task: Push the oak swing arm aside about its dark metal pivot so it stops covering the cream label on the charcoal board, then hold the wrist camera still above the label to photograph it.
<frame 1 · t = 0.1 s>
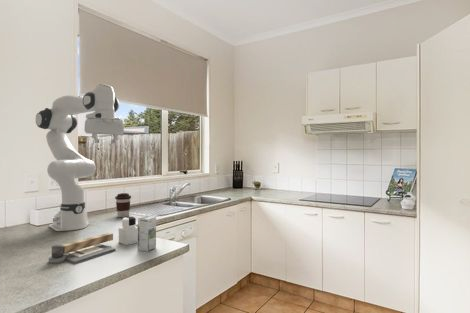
hand: (105, 143, 150), 48 cm above the counter, tool pointing down, fingers open, 8 cm apart
swing arm: (84, 243, 127), point 4 cm above the counter, hinge at 0.0°
label board: (85, 253, 126), on the counter
coffee cup: (123, 216, 197), on the counter
medicine bottle: (129, 242, 142), on the counter
syrup box: (147, 249, 132), on the counter
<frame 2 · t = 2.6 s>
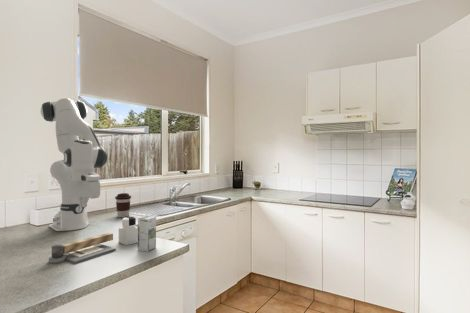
hand: (83, 206, 132), 19 cm above the counter, tool pointing down, fingers closed
nothing on the counter moved.
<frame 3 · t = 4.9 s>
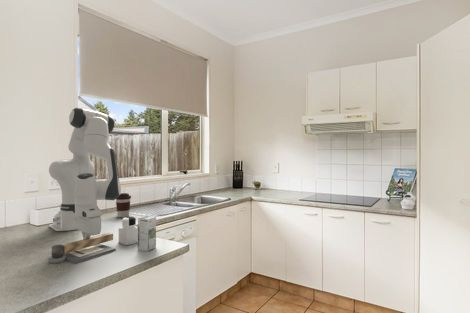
hand: (86, 241, 131), 4 cm above the counter, tool pointing down, fingers closed
swing arm: (84, 243, 127), point 4 cm above the counter, hinge at 0.2°, touching gripper
everything else where it was.
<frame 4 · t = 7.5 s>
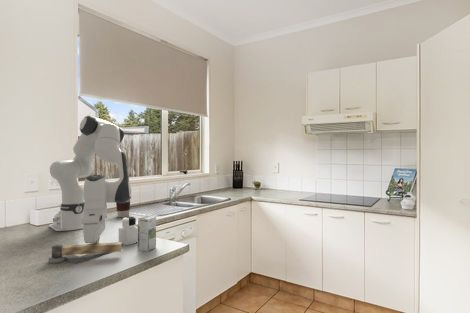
hand: (95, 247, 123), 4 cm above the counter, tool pointing down, fingers closed
swing arm: (87, 248, 120), point 4 cm above the counter, hinge at 44.7°, touching gripper
everything else where it was.
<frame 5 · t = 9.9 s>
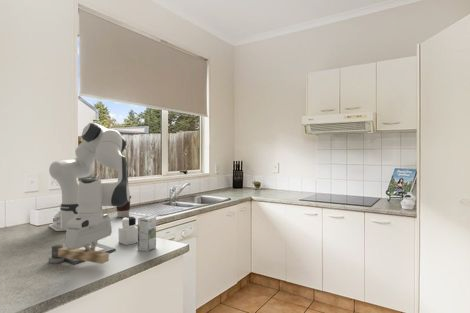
hand: (90, 253, 116), 4 cm above the counter, tool pointing down, fingers closed
swing arm: (78, 254, 114), point 4 cm above the counter, hinge at 76.3°, touching gripper
everything else where it was.
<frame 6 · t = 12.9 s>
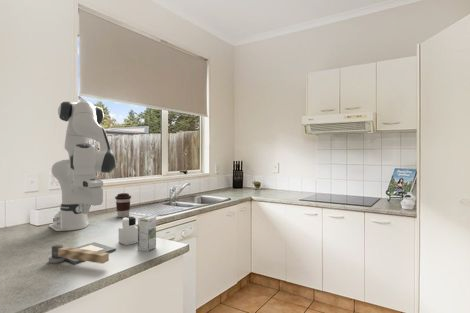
hand: (85, 213, 126), 17 cm above the counter, tool pointing down, fingers closed
swing arm: (78, 254, 114), point 4 cm above the counter, hinge at 76.3°
everything else where it was.
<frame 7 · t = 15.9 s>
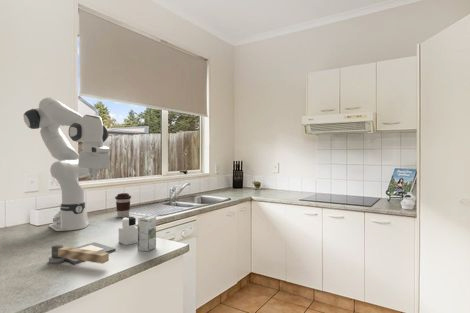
hand: (93, 178, 139), 31 cm above the counter, tool pointing down, fingers closed
nothing on the counter moved.
at the end: swing arm at +76° (first picture: +0°); syrup box moved 0.2 cm from its start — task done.
